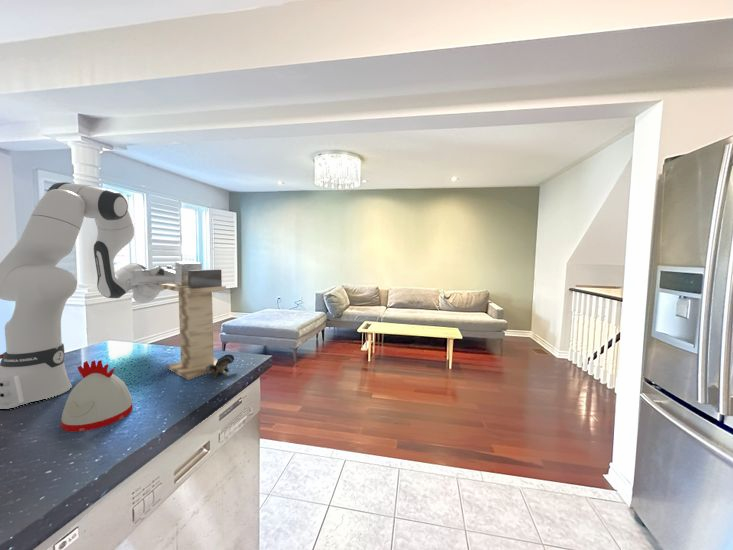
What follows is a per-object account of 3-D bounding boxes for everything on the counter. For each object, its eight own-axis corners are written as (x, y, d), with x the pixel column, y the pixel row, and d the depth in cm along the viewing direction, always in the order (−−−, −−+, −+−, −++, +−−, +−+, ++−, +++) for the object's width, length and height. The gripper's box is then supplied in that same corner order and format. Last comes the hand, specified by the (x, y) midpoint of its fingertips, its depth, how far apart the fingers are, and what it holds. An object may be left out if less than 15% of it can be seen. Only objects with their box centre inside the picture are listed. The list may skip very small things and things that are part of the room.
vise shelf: (160, 365, 114) (156, 268, 111) (198, 355, 125) (195, 267, 123) (190, 381, 100) (187, 271, 97) (230, 368, 112) (228, 269, 109)
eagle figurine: (230, 376, 102) (239, 361, 111) (216, 360, 100) (227, 347, 109) (212, 386, 103) (223, 371, 112) (198, 371, 101) (210, 357, 110)
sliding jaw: (151, 273, 123) (151, 254, 122) (170, 272, 129) (170, 254, 128) (181, 285, 108) (181, 263, 107) (201, 284, 114) (201, 263, 113)
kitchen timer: (91, 404, 85) (89, 352, 84) (144, 402, 86) (141, 351, 85) (45, 433, 71) (40, 372, 70) (108, 430, 73) (104, 370, 72)
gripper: (122, 277, 123) (132, 261, 115) (177, 274, 140) (188, 260, 132) (126, 290, 121) (136, 275, 114) (180, 286, 138) (192, 272, 131)
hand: (165, 267), depth 123 cm, fingers closed on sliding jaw, 3 cm apart
